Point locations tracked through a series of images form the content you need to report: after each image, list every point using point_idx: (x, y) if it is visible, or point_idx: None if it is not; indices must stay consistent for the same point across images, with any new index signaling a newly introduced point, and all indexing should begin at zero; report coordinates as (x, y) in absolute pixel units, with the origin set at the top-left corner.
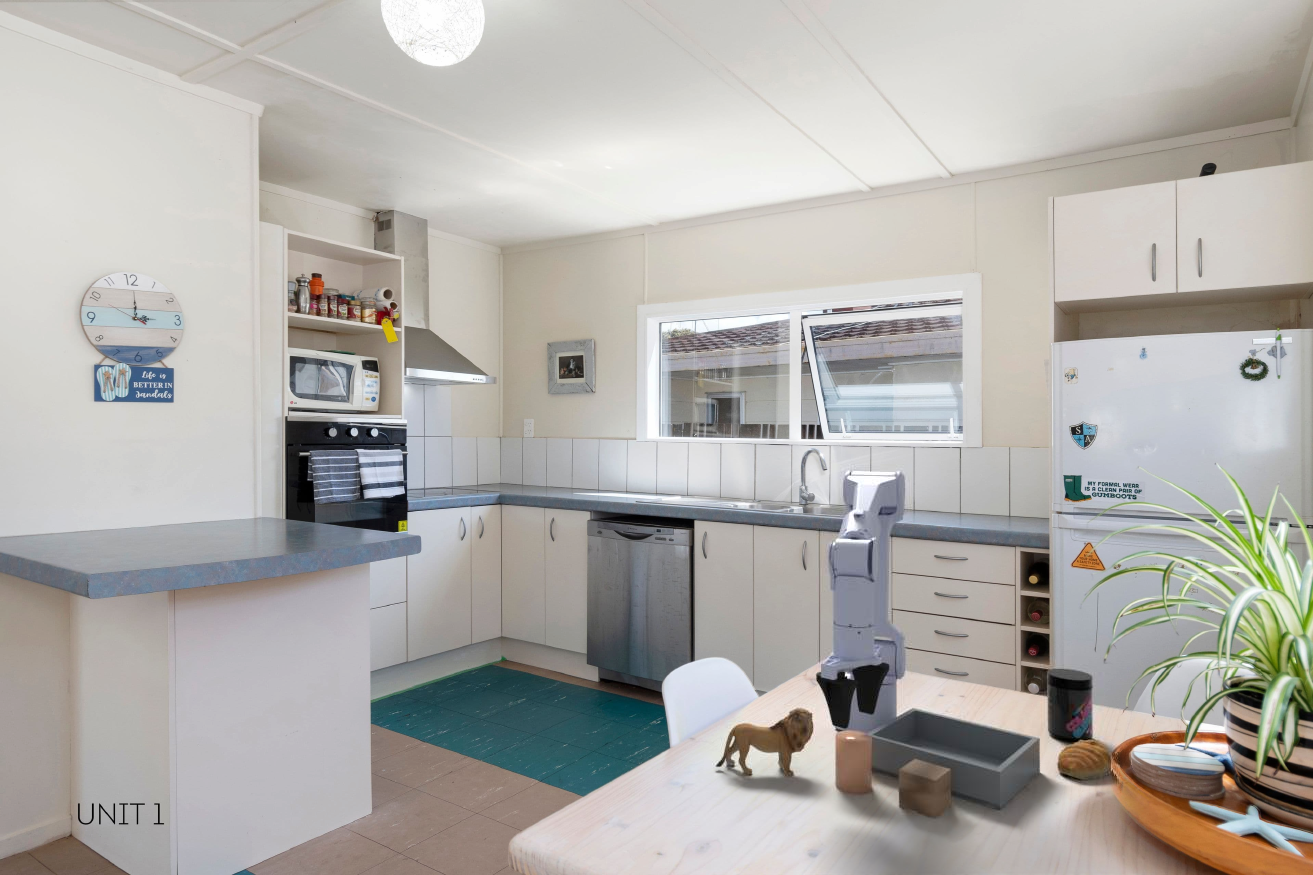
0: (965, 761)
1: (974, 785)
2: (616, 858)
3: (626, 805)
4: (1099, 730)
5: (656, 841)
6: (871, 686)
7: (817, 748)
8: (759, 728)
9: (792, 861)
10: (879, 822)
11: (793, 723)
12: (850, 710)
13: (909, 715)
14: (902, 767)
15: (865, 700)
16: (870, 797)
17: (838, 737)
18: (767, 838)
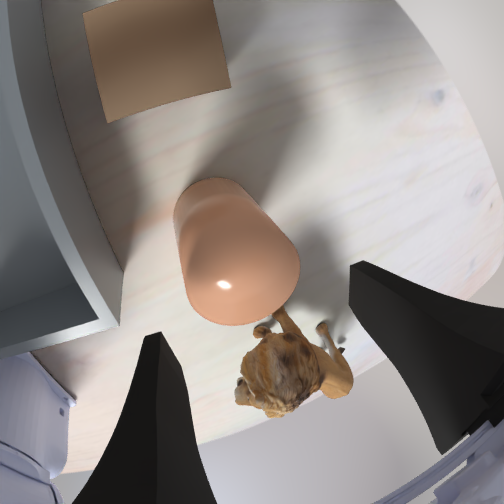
0: (2, 41)
1: (30, 22)
2: (501, 218)
3: (448, 295)
4: None
5: (481, 224)
6: (170, 440)
7: None
8: (335, 381)
9: (459, 105)
10: (306, 71)
11: (310, 376)
12: (395, 292)
13: None
14: (205, 92)
15: (176, 390)
16: (227, 156)
17: (287, 292)
18: (444, 161)
